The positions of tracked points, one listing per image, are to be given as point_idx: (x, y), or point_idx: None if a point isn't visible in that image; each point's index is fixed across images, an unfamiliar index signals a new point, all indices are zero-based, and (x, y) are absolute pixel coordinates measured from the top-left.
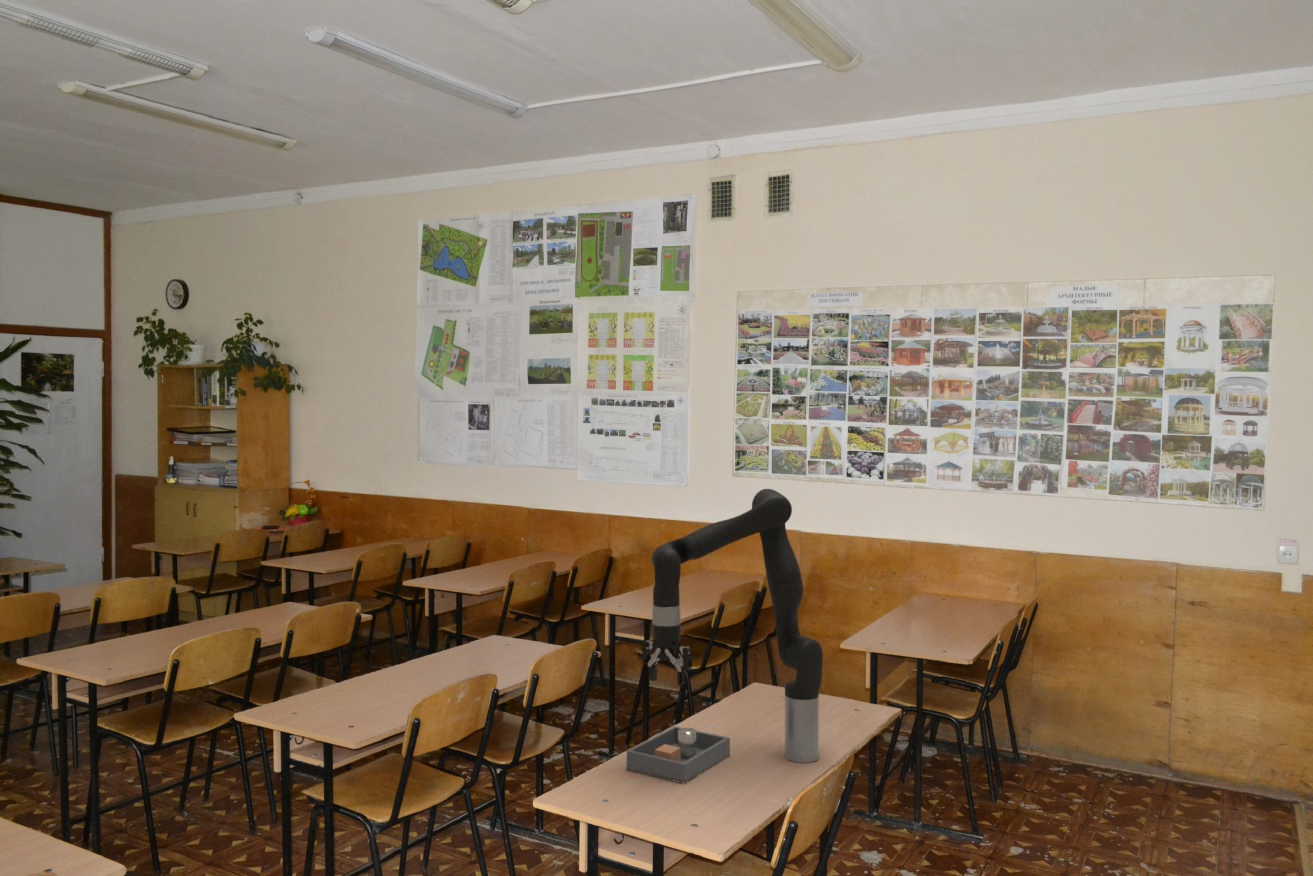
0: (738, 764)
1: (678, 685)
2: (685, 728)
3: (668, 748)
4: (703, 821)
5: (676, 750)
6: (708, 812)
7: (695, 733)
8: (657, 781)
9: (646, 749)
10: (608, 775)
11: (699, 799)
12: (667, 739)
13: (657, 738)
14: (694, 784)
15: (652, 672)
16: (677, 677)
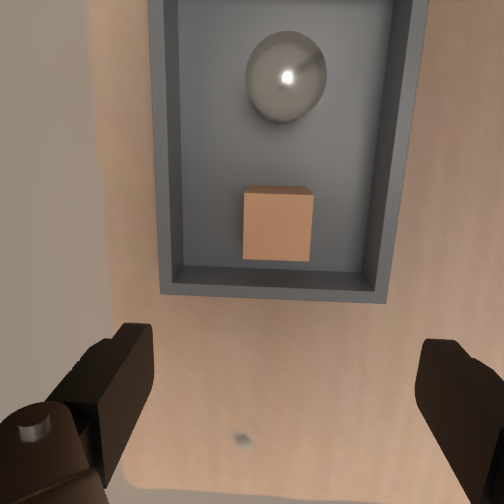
0: (462, 38)
1: (420, 391)
2: (265, 51)
3: (278, 224)
4: None
5: (311, 223)
6: None
7: (325, 72)
8: None
9: (174, 191)
10: (154, 322)
11: None
12: (172, 42)
13: (167, 116)
14: (391, 263)
15: (126, 439)
16: (446, 456)
